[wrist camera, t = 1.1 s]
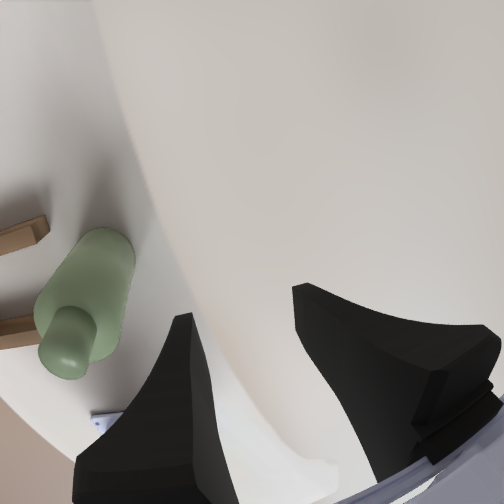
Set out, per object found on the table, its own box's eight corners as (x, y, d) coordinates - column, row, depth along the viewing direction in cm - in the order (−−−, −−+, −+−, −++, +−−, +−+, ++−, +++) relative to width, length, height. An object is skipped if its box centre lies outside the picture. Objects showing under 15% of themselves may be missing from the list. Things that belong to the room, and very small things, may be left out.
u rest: (83, 317, 20) (76, 337, 18) (-8, 335, 18) (-18, 352, 16) (45, 214, 17) (30, 225, 14) (-46, 250, 15) (-62, 262, 13)
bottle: (143, 280, 20) (130, 391, 11) (88, 292, 19) (48, 400, 10) (125, 220, 18) (86, 303, 9) (67, 236, 18) (-3, 322, 8)
